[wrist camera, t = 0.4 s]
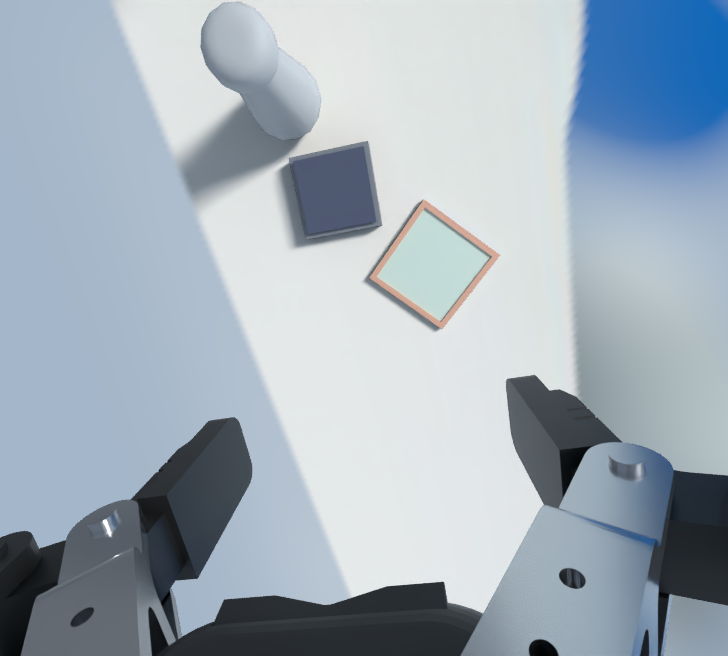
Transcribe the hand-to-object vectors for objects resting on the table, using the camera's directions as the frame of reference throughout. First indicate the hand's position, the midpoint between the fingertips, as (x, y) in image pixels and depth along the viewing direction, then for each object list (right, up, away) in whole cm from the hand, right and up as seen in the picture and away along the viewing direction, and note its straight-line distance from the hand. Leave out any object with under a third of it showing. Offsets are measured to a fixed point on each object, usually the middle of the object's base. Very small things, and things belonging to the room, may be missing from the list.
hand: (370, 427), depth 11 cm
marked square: (+6, +9, +25) cm, 27 cm away
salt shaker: (-6, +22, +23) cm, 32 cm away
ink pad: (-3, +15, +24) cm, 28 cm away
